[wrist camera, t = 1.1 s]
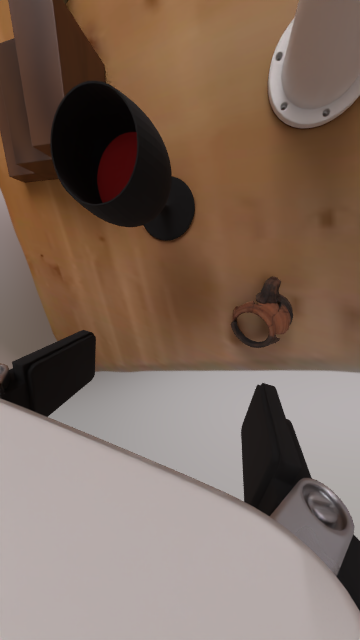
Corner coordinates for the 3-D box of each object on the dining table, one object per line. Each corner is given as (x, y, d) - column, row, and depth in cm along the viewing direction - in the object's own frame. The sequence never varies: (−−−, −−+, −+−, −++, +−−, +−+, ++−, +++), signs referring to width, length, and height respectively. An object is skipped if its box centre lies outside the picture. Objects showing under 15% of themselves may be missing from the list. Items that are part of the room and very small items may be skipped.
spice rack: (24, 182, 40) (-38, 158, 31) (7, 90, 36) (-70, 30, 27) (112, 173, 35) (69, 140, 26) (104, 64, 31) (50, -20, 22)
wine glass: (176, 251, 36) (118, 238, 18) (132, 223, 37) (31, 182, 18) (206, 195, 32) (172, 103, 14) (156, 165, 33) (59, 39, 15)
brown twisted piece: (291, 336, 36) (276, 361, 30) (243, 321, 41) (223, 340, 36) (308, 273, 30) (292, 290, 24) (249, 266, 35) (226, 279, 30)
